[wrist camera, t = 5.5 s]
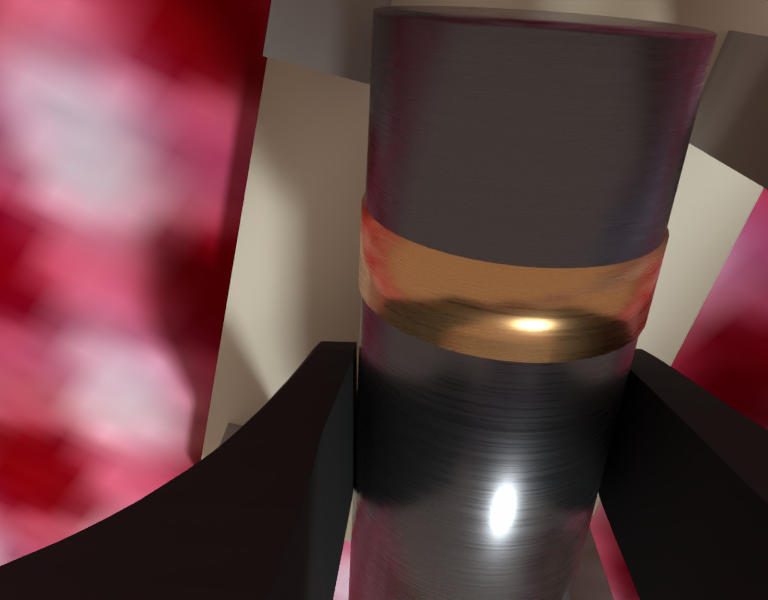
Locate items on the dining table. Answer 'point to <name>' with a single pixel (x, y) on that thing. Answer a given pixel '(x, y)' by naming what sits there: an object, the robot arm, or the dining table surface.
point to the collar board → (348, 184)
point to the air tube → (505, 284)
